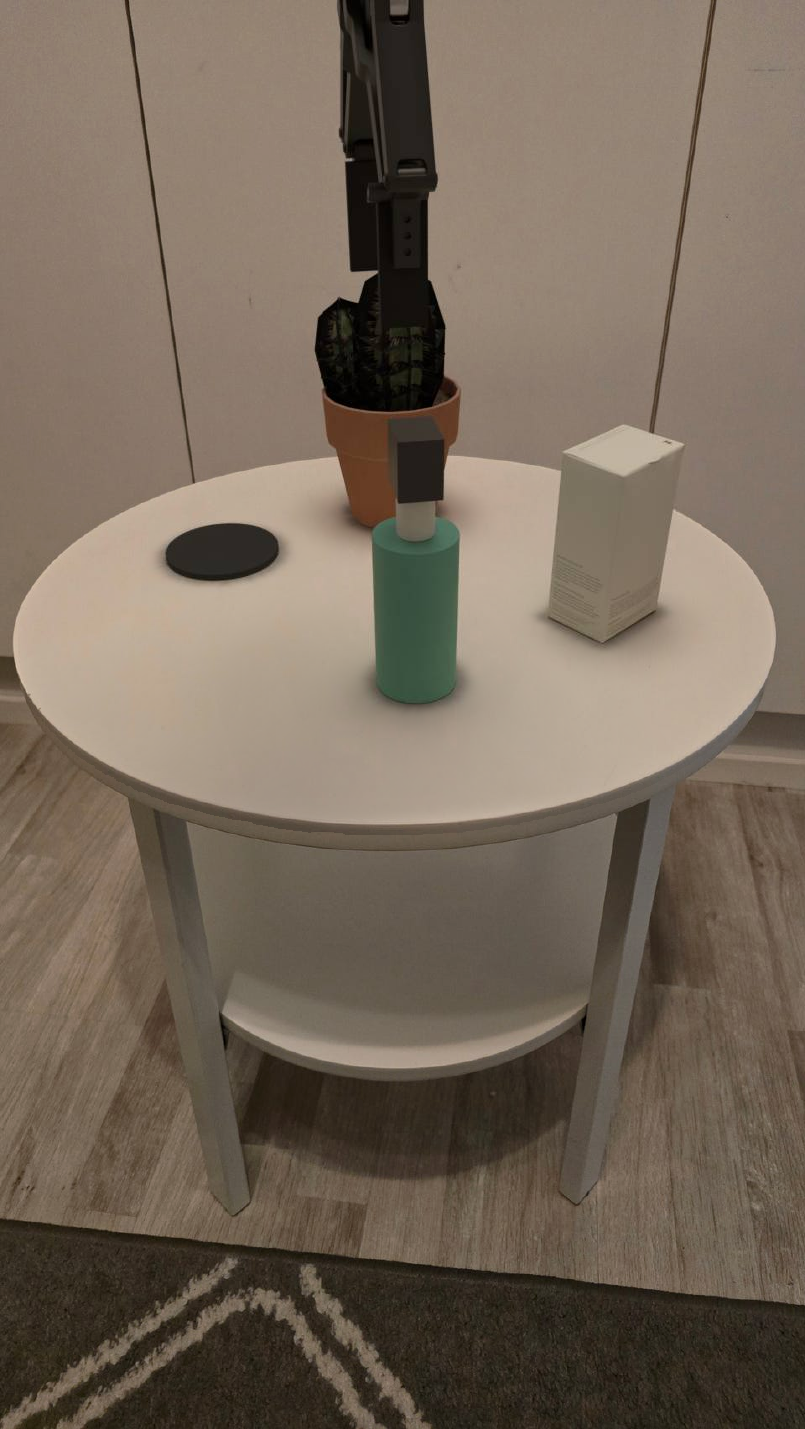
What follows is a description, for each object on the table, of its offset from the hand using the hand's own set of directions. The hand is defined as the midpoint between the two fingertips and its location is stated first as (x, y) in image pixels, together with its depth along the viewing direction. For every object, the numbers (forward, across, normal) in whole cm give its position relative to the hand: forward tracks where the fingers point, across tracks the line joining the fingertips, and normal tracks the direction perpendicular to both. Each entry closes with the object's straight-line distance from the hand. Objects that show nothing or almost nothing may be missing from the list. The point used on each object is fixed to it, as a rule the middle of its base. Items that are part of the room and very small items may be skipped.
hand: (385, 296), depth 62 cm
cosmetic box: (+30, +6, -20) cm, 36 cm away
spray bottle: (+29, 0, -2) cm, 29 cm away
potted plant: (+30, +30, -5) cm, 43 cm away
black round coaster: (+29, +25, +13) cm, 41 cm away
